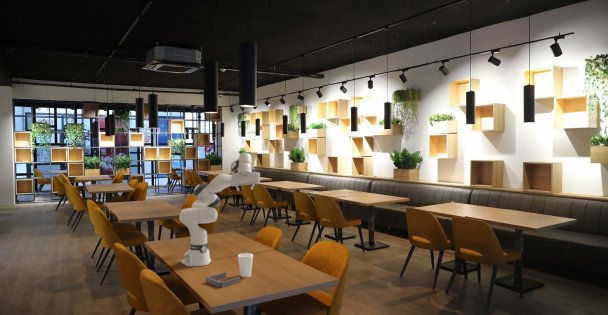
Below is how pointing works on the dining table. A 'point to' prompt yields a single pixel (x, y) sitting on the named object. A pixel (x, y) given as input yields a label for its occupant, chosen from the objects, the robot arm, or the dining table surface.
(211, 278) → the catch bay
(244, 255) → the foam cup
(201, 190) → the robot arm
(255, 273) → the dining table surface
